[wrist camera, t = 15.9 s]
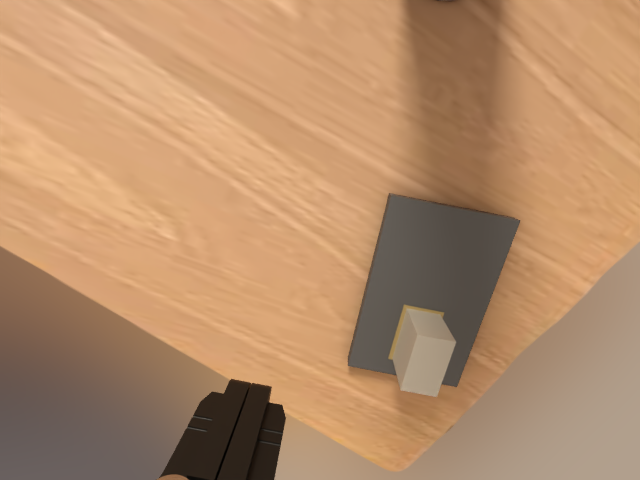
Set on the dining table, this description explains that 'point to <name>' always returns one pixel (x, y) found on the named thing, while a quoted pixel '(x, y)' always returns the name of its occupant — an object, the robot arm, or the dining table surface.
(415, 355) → the block
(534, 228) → the dining table surface
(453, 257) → the board
